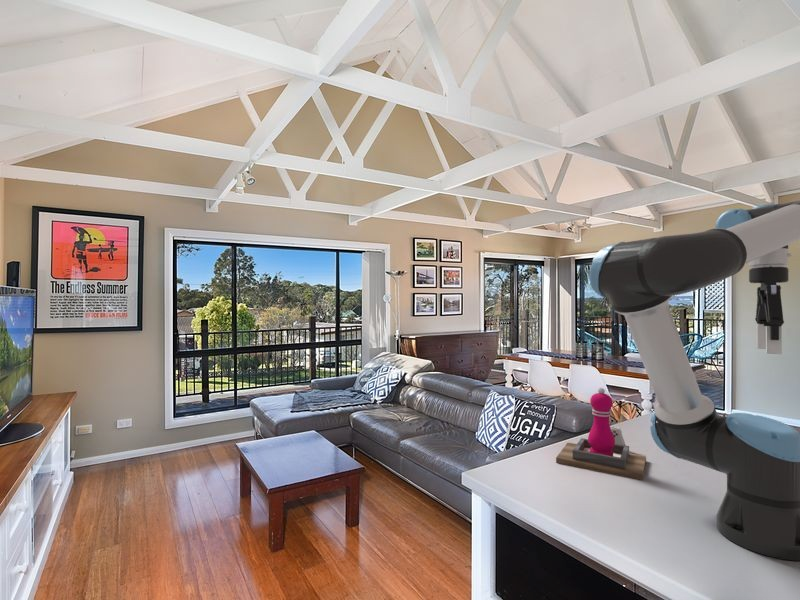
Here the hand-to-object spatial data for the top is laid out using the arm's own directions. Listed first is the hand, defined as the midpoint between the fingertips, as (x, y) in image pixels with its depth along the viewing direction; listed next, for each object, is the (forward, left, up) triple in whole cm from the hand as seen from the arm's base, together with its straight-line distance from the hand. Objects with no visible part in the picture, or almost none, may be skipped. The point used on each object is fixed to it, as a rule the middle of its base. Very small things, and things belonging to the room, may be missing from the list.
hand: (768, 351), depth 107 cm
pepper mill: (-3, +38, -33) cm, 51 cm away
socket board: (-3, +38, -35) cm, 52 cm away
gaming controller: (+13, +38, -35) cm, 53 cm away
